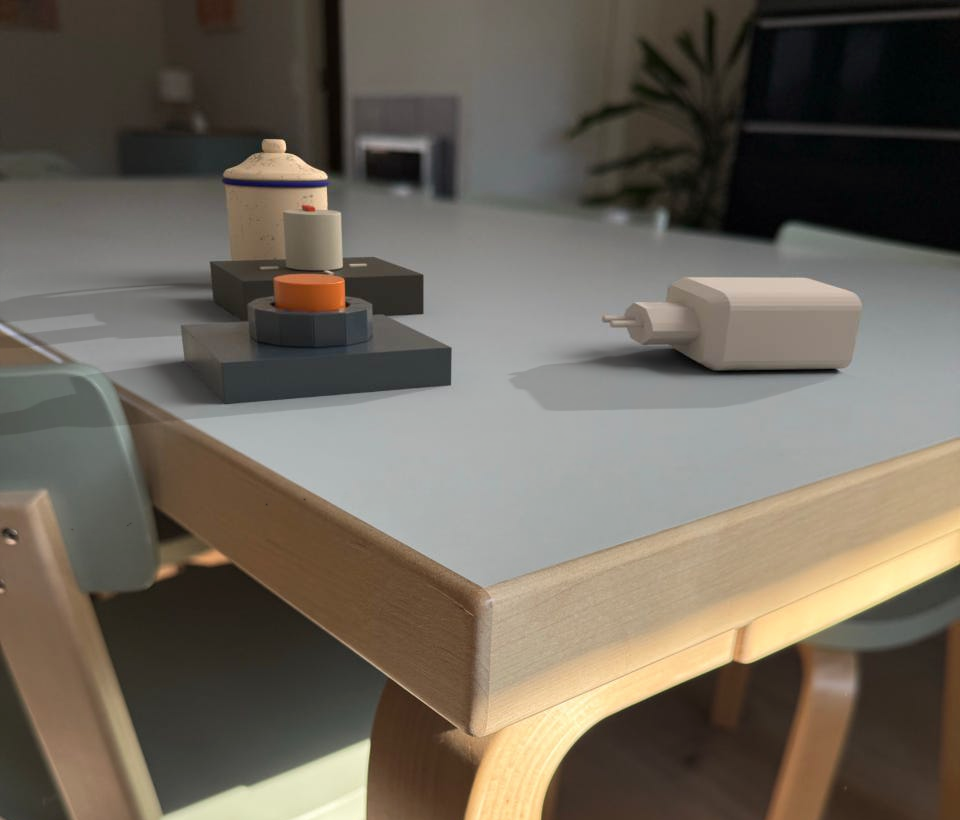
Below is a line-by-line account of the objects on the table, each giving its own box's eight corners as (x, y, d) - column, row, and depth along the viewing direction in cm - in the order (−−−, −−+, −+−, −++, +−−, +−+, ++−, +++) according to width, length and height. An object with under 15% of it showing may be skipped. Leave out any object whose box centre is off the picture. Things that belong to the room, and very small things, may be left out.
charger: (583, 346, 68) (784, 344, 71) (625, 377, 60) (850, 373, 63) (589, 273, 66) (796, 274, 68) (633, 295, 58) (865, 295, 60)
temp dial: (349, 270, 76) (347, 209, 74) (292, 271, 75) (289, 209, 73) (334, 262, 80) (332, 205, 78) (280, 263, 78) (277, 204, 76)
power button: (286, 318, 54) (284, 285, 54) (267, 306, 58) (265, 274, 57) (355, 314, 56) (354, 282, 55) (333, 303, 59) (331, 272, 58)
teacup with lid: (339, 291, 86) (334, 142, 81) (233, 292, 84) (220, 139, 78) (322, 272, 96) (316, 138, 91) (227, 272, 94) (215, 136, 89)
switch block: (225, 405, 52) (217, 326, 50) (184, 361, 60) (176, 293, 58) (451, 386, 57) (452, 314, 55) (383, 348, 65) (382, 285, 63)
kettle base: (246, 324, 72) (242, 278, 70) (213, 300, 80) (209, 259, 79) (423, 314, 77) (423, 272, 76) (375, 293, 86) (374, 254, 84)
